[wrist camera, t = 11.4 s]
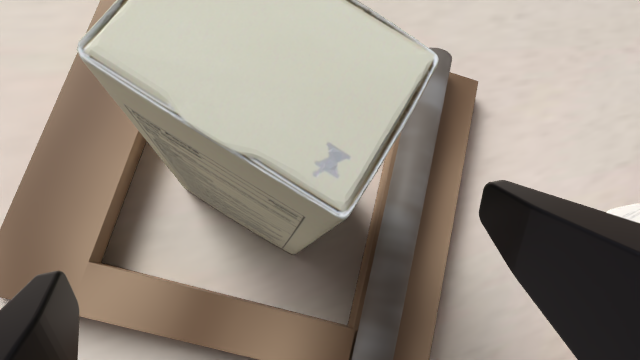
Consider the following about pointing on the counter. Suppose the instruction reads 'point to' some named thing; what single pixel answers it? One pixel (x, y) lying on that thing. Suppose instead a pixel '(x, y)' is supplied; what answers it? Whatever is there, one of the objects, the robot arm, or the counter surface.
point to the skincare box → (263, 101)
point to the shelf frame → (219, 309)
